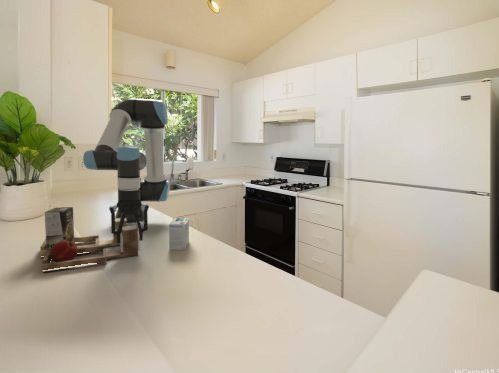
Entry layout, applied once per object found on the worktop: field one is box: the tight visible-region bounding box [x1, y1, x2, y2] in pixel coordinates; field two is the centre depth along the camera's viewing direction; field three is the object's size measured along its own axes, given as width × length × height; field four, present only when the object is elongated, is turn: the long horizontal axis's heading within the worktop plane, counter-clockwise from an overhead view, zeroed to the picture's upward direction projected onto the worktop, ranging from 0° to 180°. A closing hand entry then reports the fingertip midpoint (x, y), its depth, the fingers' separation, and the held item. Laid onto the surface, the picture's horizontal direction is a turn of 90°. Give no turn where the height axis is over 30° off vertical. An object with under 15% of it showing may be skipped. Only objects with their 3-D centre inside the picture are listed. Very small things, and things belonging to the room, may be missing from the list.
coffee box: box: [44, 206, 76, 250], centre depth 106 cm, size 9×6×16 cm
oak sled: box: [39, 218, 128, 257], centre depth 110 cm, size 28×13×10 cm, turn 118°
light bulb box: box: [168, 217, 190, 251], centre depth 116 cm, size 11×7×11 cm, turn 5°
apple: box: [50, 240, 78, 262], centre depth 95 cm, size 7×8×8 cm
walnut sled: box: [41, 225, 139, 271], centre depth 99 cm, size 28×13×10 cm, turn 118°
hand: (130, 249), depth 105 cm, fingers closed on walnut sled, 5 cm apart
